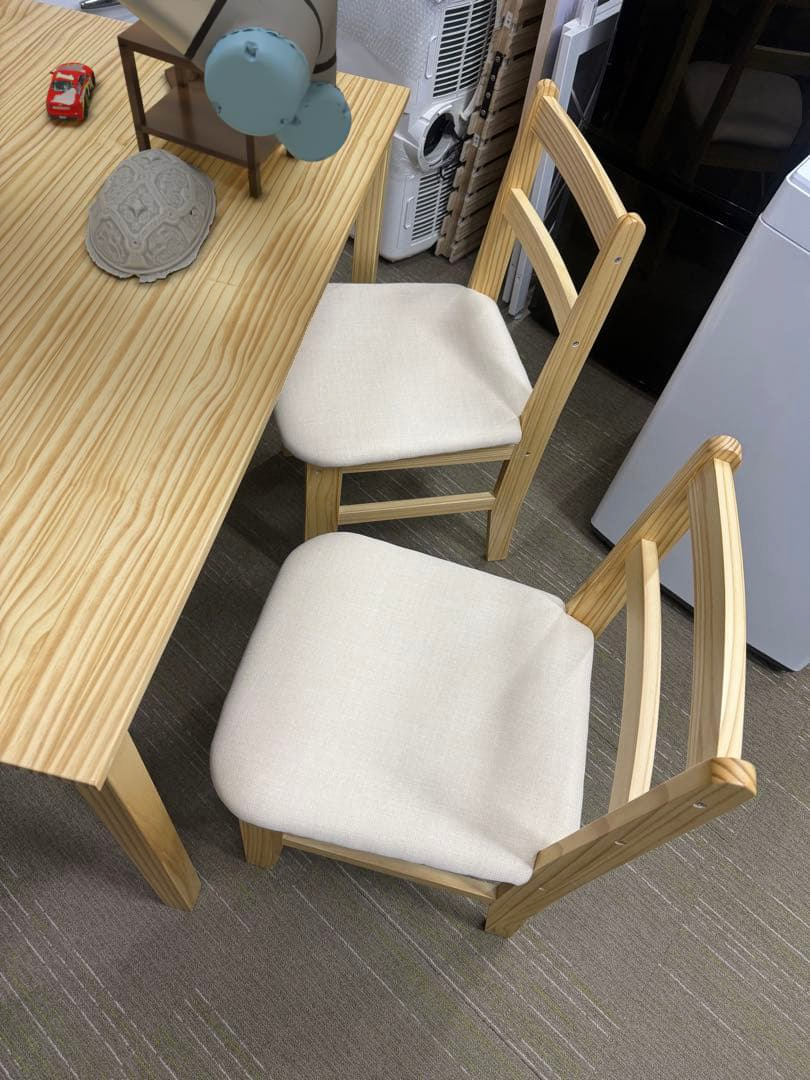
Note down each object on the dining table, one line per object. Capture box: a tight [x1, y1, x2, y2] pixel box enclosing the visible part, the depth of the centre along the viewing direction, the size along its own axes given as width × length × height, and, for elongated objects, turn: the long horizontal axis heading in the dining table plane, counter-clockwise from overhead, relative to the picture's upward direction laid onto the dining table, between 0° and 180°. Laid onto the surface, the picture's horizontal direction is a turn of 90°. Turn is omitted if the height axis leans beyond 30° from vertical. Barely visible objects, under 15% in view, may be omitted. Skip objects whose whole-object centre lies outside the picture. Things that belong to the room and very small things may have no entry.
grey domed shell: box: [84, 148, 217, 283], centre depth 98 cm, size 16×25×7 cm, turn 178°
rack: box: [116, 18, 296, 200], centre depth 102 cm, size 12×18×16 cm, turn 68°
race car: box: [45, 62, 96, 123], centre depth 111 cm, size 13×5×4 cm, turn 2°
